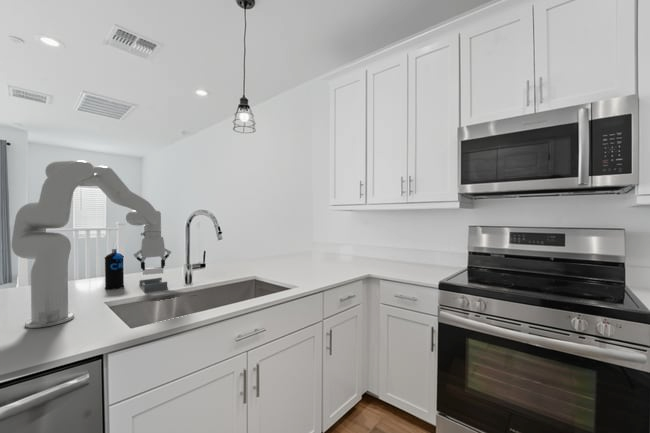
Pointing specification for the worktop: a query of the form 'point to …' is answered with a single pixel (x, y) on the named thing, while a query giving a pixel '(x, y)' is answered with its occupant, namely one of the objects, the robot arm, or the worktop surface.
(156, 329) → the worktop surface
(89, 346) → the worktop surface
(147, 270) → the white rectangular block
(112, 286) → the aerosol can
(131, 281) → the worktop surface
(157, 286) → the pin tray
